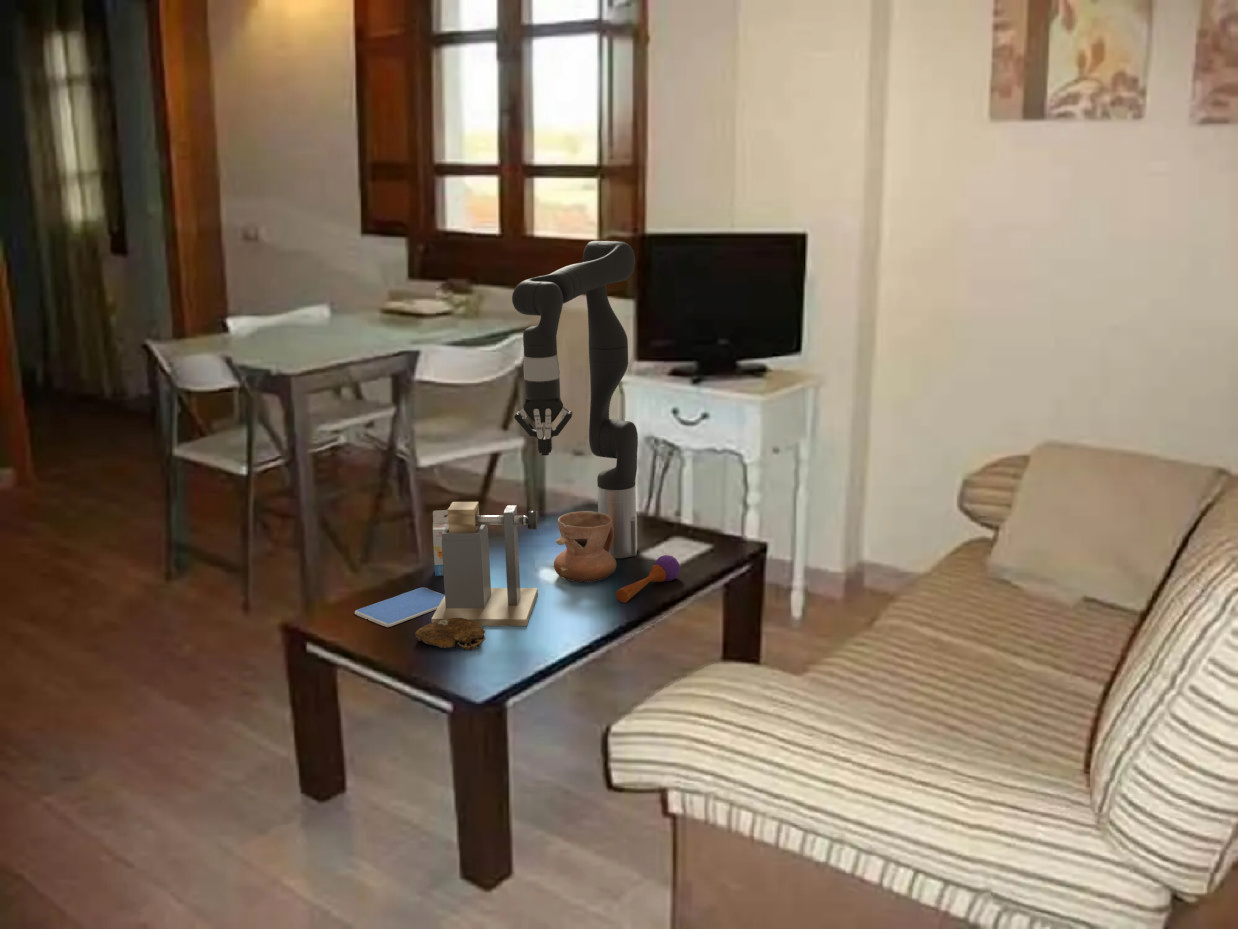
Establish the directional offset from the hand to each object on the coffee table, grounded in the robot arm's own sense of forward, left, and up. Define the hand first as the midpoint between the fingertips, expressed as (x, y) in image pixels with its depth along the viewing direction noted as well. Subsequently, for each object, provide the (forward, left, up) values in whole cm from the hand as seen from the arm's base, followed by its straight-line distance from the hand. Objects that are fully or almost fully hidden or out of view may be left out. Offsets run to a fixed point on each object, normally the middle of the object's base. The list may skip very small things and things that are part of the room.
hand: (545, 454), depth 257 cm
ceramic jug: (-7, -12, -33) cm, 35 cm away
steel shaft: (+11, +8, -14) cm, 20 cm away
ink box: (+25, -14, -33) cm, 43 cm away
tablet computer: (+31, +8, -33) cm, 46 cm away
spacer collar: (+17, +8, -16) cm, 24 cm away
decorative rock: (+16, +26, -33) cm, 45 cm away
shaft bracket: (+7, +8, -31) cm, 33 cm away
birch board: (+13, +9, -32) cm, 36 cm away
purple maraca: (-22, -4, -33) cm, 40 cm away
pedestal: (+17, +8, -31) cm, 36 cm away
